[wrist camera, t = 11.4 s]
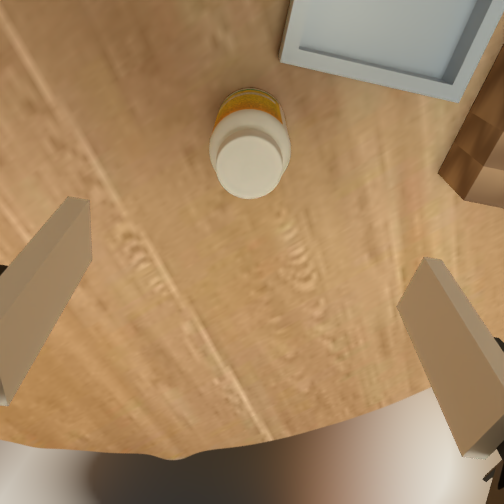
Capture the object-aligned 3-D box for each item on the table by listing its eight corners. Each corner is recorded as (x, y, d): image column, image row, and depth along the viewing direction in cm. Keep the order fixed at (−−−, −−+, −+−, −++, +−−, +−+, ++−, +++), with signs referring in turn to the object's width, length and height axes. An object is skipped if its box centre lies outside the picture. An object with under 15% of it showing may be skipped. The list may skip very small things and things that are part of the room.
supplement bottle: (295, 135, 32) (309, 187, 24) (237, 165, 33) (232, 223, 25) (265, 71, 29) (270, 106, 21) (203, 107, 30) (186, 151, 22)
